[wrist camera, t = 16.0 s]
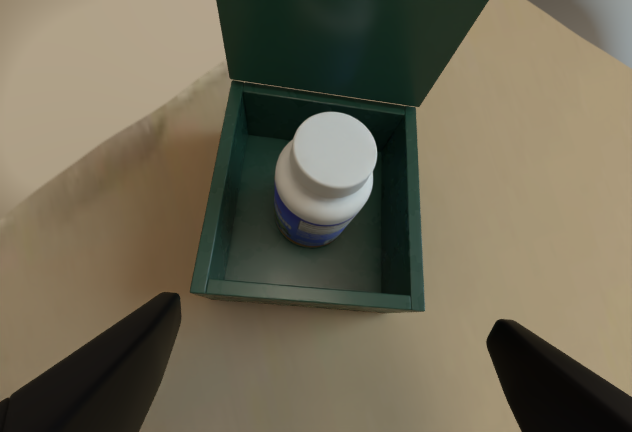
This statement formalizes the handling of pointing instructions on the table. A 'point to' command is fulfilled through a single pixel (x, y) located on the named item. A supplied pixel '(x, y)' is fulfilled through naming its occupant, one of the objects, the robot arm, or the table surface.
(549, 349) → the robot arm
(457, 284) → the table surface
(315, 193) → the pill bottle
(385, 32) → the green box lid
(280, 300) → the green open box
